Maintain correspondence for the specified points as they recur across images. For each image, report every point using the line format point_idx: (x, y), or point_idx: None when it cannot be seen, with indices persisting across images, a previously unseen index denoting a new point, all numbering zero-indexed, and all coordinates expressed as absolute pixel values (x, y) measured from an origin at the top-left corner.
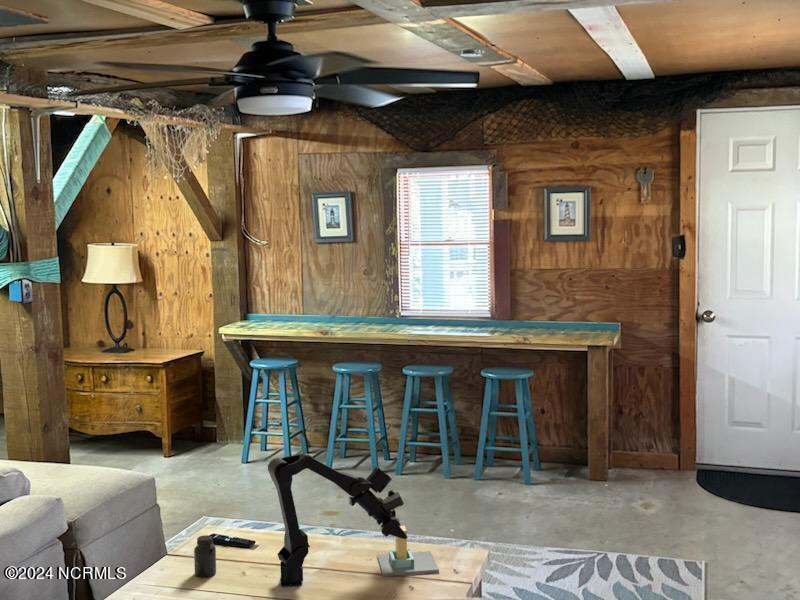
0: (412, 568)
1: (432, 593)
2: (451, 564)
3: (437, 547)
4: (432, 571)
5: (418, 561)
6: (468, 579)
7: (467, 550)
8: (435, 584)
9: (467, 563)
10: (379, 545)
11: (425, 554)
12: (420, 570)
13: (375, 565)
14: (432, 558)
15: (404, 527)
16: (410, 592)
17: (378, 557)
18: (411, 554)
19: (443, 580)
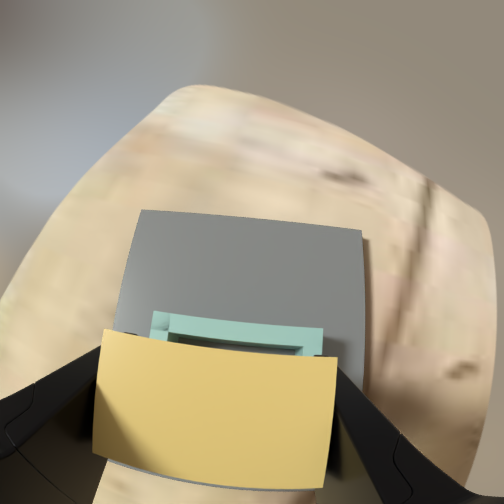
0: (330, 346)
1: (496, 303)
2: (280, 171)
3: (100, 179)
4: (361, 259)
5: (247, 295)
6: (410, 168)
7: (172, 107)
8: (449, 278)
9: (282, 128)
10: (6, 384)
11: (169, 238)
12: (361, 312)
13: (202, 495)
14: (227, 221)
15: (181, 357)
16: (488, 374)
17: (138, 470)
18: (242, 325)
19: (422, 241)
